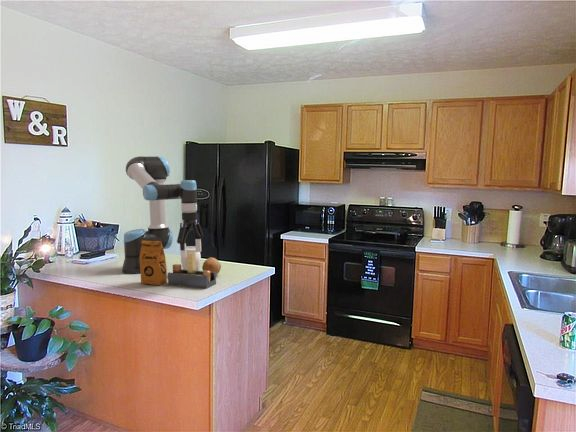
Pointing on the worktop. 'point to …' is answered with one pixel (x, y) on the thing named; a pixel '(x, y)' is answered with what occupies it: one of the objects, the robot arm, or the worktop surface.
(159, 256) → the coffee package
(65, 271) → the worktop surface
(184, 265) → the jar
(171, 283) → the dark grey tray
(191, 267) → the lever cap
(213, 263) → the onion
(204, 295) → the worktop surface
